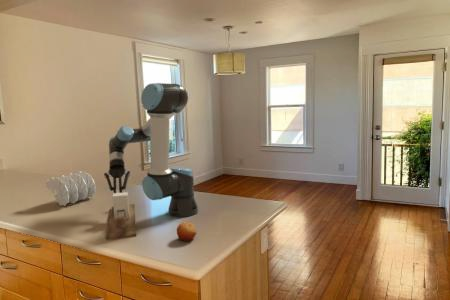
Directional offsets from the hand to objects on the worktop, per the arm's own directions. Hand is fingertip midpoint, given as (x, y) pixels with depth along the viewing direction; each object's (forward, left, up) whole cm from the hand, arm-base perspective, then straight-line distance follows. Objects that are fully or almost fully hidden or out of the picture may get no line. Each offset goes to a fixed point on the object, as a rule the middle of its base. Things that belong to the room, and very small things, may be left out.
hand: (118, 201), depth 166 cm
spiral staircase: (+27, -43, -9) cm, 51 cm away
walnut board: (-2, +3, -9) cm, 10 cm away
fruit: (-27, +37, -9) cm, 47 cm away
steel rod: (-1, +4, -5) cm, 7 cm away
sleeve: (-2, +4, -7) cm, 8 cm away
